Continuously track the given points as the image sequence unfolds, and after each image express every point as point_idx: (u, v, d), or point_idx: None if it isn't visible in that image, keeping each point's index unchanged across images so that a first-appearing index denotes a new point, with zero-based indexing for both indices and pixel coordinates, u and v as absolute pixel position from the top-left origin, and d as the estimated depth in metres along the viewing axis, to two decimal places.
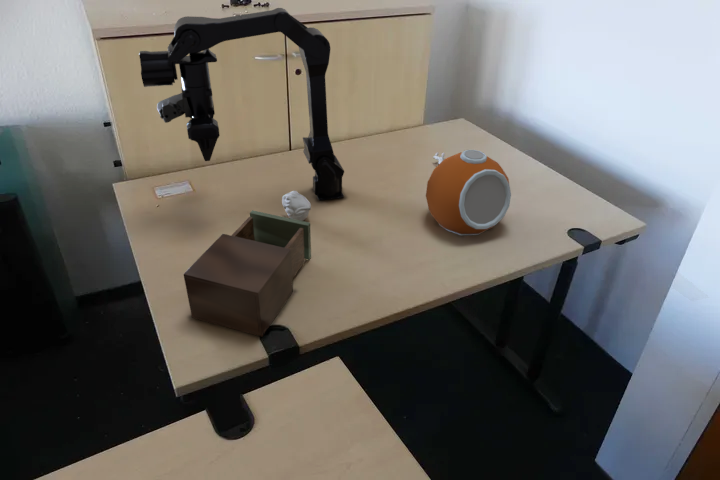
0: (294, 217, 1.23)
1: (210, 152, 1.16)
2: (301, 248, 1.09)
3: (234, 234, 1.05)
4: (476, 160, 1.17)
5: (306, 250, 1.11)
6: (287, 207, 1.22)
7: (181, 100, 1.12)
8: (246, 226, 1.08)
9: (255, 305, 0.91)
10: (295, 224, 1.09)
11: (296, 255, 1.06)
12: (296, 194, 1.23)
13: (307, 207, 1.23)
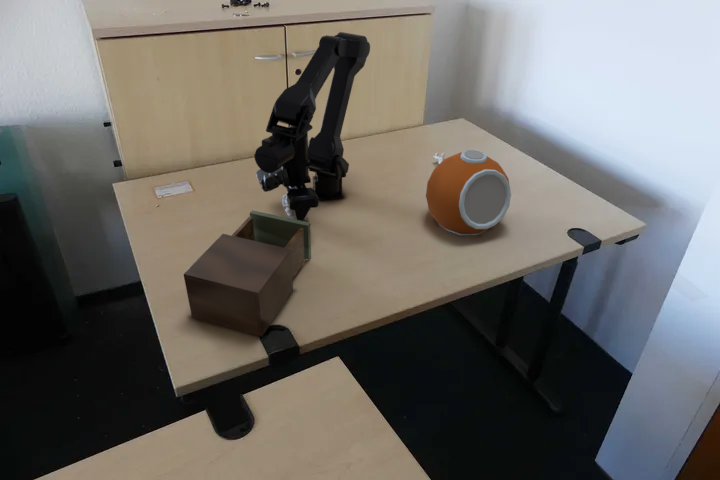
0: (294, 217, 1.23)
1: (304, 215, 1.22)
2: (301, 248, 1.09)
3: (234, 234, 1.05)
4: (476, 160, 1.17)
5: (306, 250, 1.11)
6: (287, 207, 1.22)
7: (281, 171, 1.16)
8: (246, 226, 1.08)
9: (255, 305, 0.91)
10: (295, 224, 1.09)
11: (296, 255, 1.06)
12: None
13: None
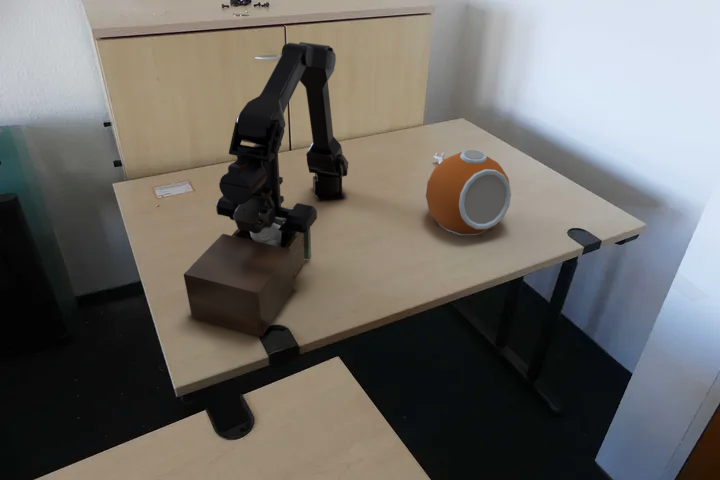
0: None
1: (289, 238, 1.06)
2: (301, 248, 1.09)
3: (234, 234, 1.05)
4: (476, 160, 1.17)
5: (306, 250, 1.11)
6: (268, 241, 1.04)
7: (266, 201, 0.97)
8: None
9: (255, 305, 0.91)
10: None
11: (296, 255, 1.06)
12: None
13: None
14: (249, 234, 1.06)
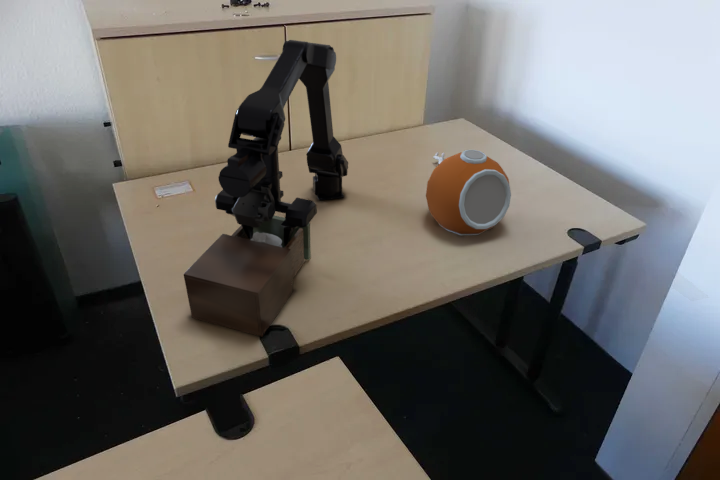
0: None
1: None
2: (301, 248, 1.08)
3: (234, 234, 1.04)
4: (476, 160, 1.17)
5: (306, 250, 1.11)
6: None
7: (265, 195, 0.96)
8: None
9: (255, 305, 0.91)
10: None
11: (296, 255, 1.06)
12: (265, 234, 1.06)
13: (281, 240, 1.08)
14: (245, 228, 1.06)
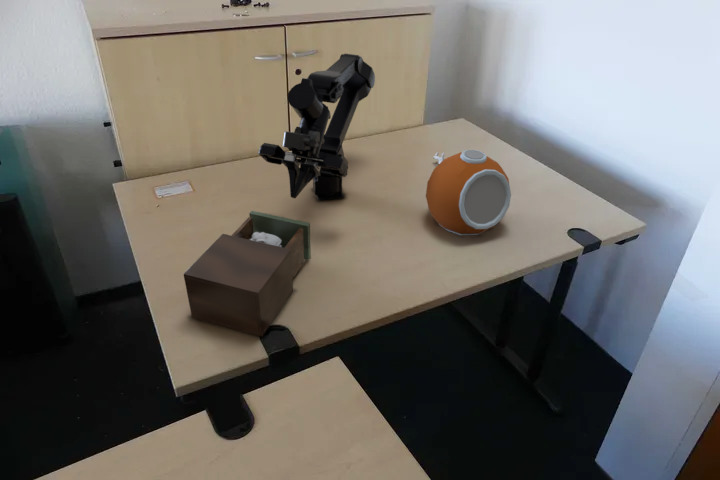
0: None
1: (301, 189, 1.15)
2: (301, 248, 1.08)
3: (234, 234, 1.04)
4: (476, 160, 1.17)
5: (306, 250, 1.11)
6: None
7: None
8: (245, 226, 1.08)
9: (255, 305, 0.91)
10: (295, 224, 1.09)
11: (296, 255, 1.06)
12: (264, 234, 1.06)
13: (280, 240, 1.08)
14: (292, 183, 1.14)
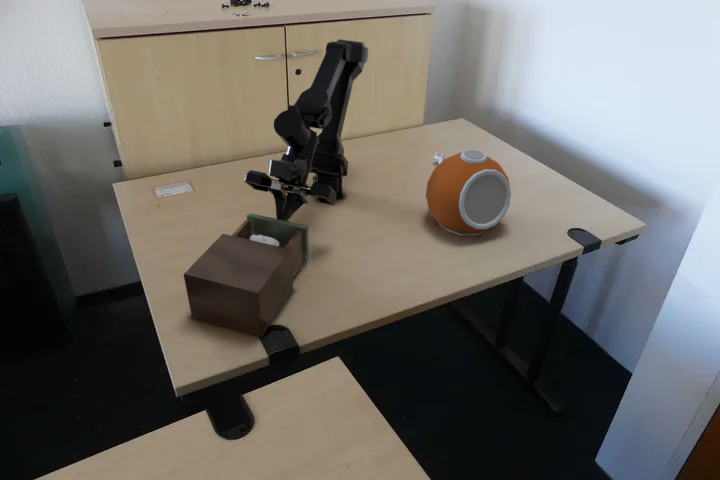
0: None
1: (288, 218, 1.12)
2: (299, 251, 1.08)
3: None
4: (476, 160, 1.17)
5: (304, 253, 1.11)
6: None
7: None
8: (243, 229, 1.07)
9: (255, 305, 0.91)
10: (293, 227, 1.08)
11: (294, 258, 1.05)
12: (262, 236, 1.05)
13: (278, 243, 1.08)
14: (278, 213, 1.10)
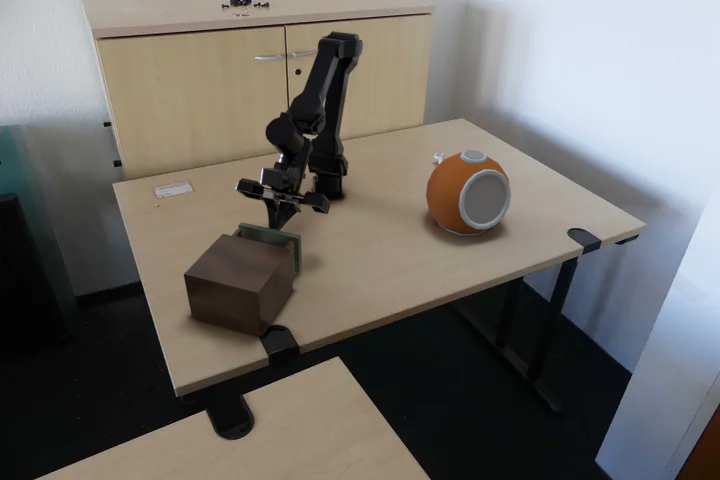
0: None
1: (281, 227, 1.09)
2: (292, 261, 1.05)
3: None
4: (476, 160, 1.17)
5: (297, 263, 1.08)
6: None
7: None
8: None
9: (255, 305, 0.91)
10: (285, 237, 1.05)
11: None
12: None
13: None
14: (271, 222, 1.08)
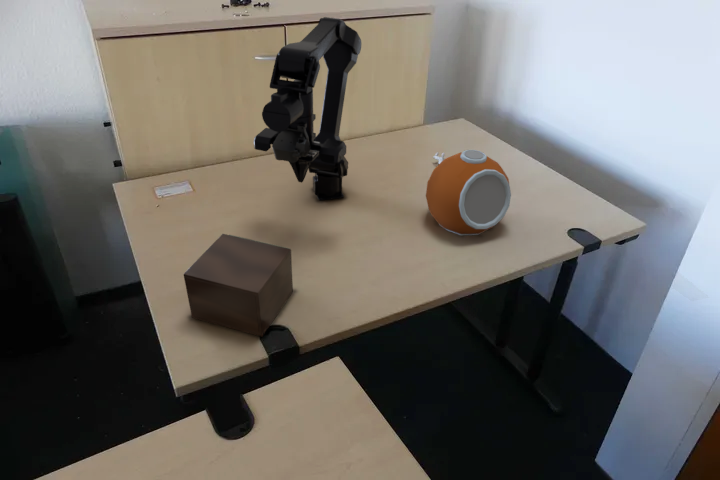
0: None
1: (306, 171, 1.16)
2: None
3: None
4: (476, 160, 1.17)
5: None
6: None
7: (301, 133, 1.07)
8: None
9: (255, 305, 0.91)
10: None
11: None
12: None
13: None
14: (296, 172, 1.15)
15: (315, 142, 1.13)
